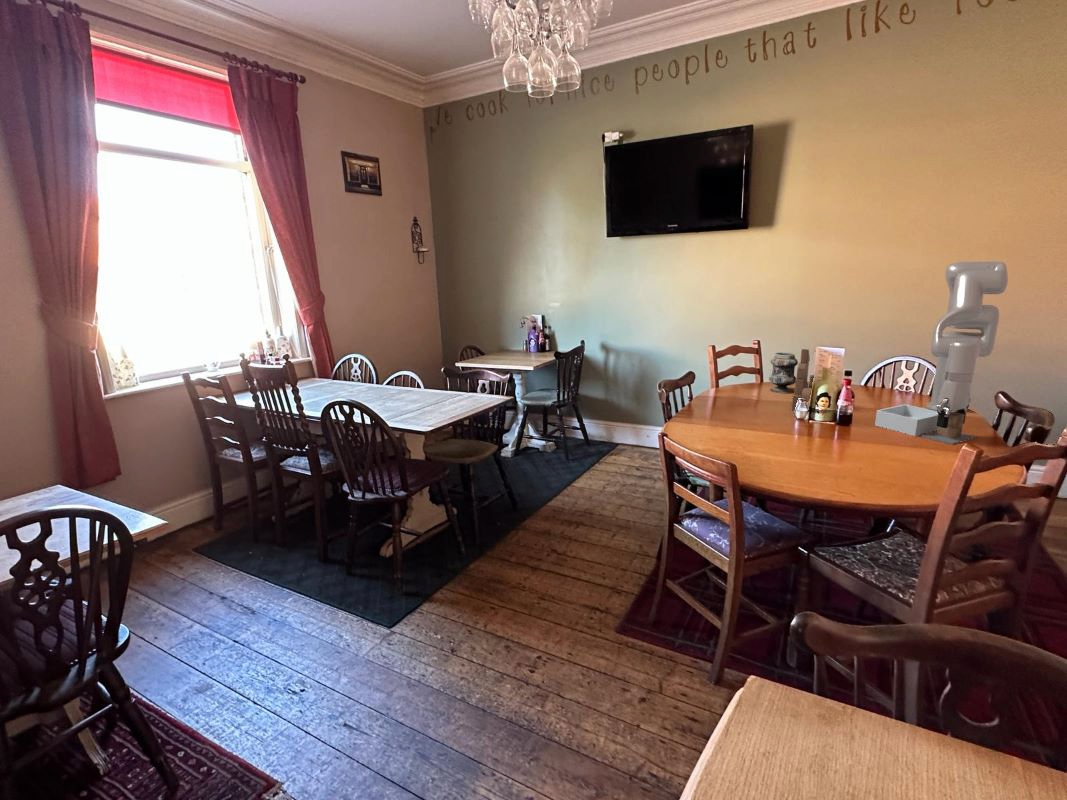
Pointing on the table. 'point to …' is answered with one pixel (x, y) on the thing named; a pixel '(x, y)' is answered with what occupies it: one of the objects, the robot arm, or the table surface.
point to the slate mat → (947, 440)
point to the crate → (907, 419)
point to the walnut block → (952, 426)
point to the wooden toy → (802, 379)
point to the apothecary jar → (783, 372)
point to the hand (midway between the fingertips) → (950, 425)
